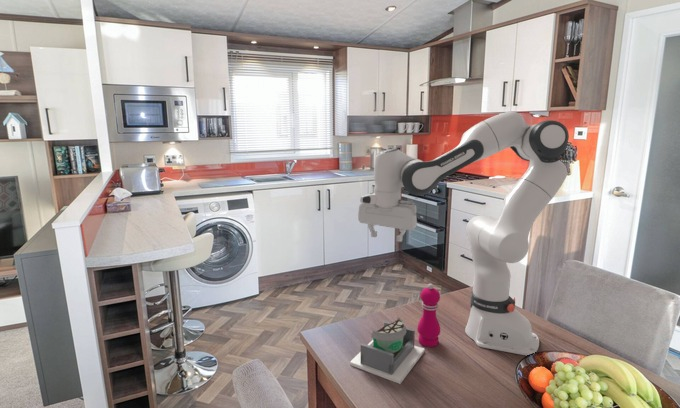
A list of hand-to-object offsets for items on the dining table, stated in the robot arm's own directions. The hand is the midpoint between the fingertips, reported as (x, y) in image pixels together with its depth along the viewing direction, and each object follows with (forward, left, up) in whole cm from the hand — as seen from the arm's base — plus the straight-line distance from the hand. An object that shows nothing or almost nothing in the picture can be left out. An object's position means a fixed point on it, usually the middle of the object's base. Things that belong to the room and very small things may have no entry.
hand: (386, 239), depth 132 cm
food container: (-12, +18, -30) cm, 37 cm away
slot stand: (-10, +18, -31) cm, 37 cm away
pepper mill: (-17, +3, -31) cm, 36 cm away
